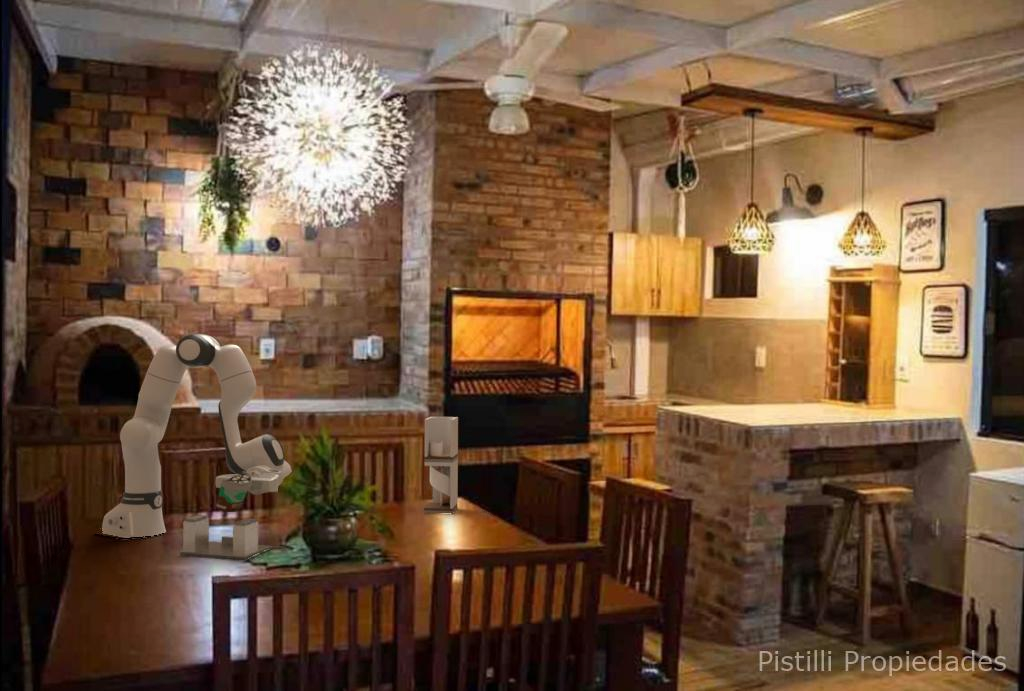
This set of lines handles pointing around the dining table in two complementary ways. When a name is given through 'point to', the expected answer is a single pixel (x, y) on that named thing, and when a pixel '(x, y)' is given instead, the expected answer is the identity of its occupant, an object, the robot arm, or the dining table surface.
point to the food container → (233, 492)
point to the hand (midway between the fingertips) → (233, 486)
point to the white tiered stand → (442, 463)
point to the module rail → (230, 547)
